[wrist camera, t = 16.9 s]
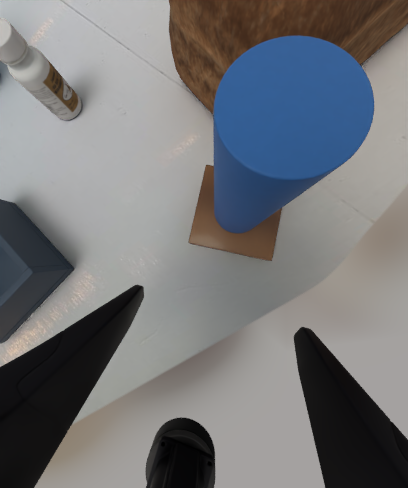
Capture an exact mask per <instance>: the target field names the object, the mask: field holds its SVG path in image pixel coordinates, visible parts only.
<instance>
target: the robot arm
mask: <svg viewBox="0 0 408 488" xmlns="http://www.w3.org/2000/svg"><path fill="white" fill-rule="evenodd" d="M143 298H144V289H143V286H140V285H135V286H133V287H131V288H130V289H128V290H127V291H125V292H123V293H122V294H120V295H119V296H117V297H116V298H114V299H112V300H111V301H109V302H108V303H106V304H104V305H103V306H101V307H100V308H98V309H96V310H95V311H93V312H92V313H90V314H89V315H87V316H85V317H84V318H82V319H81V320H79V321H77V322H76V323H74V324H73V325H71V326H69V327H68V328H66V329H65V330H64V331H61V332H60V333H58V334H57V335H55V336H54V337H52V338H50V339H49V340H47V341H45V342H44V343H42V344H40V345H39V346H37V347H35V348H34V349H32V350H30V351H28V352H27V353H25V354H23V355H21V356H20V357H18V358H16V359H14V360H12V361H10V362H9V363H7V364H5V365H3V366H1V367H0V488H34V487H35V485H36V483H37V482H38V480H39V479H40V477H41V475H42V474H43V472H44V470H45V468H46V467H47V465H48V463H49V462H50V460H51V458H52V457H53V455H54V453H55V452H56V450H57V448H58V447H59V445H60V443H61V442H62V440H63V438H64V437H65V435H66V433H67V430H69V428H70V426H71V425H72V423H73V421H74V420H75V418H76V416H77V415H78V413H79V411H80V410H81V408H82V406H83V405H84V403H85V401H86V400H87V398H88V396H89V395H90V393H91V391H92V390H93V388H94V386H95V385H96V383H97V381H98V380H99V378H100V376H101V375H102V373H103V371H104V369H105V368H106V366H107V364H108V363H109V361H110V359H111V358H112V356H113V354H114V353H115V351H116V349H117V348H118V346H119V344H120V343H121V341H122V339H123V338H124V336H125V334H126V333H127V331H128V329H129V327H130V326H131V324H132V322H133V320H134V317H135V315H136V313H137V311H138V309H139V307H140V305H141V302H142V300H143ZM294 343H295V351H296V358H297V365H298V371H299V376H300V380H301V384H302V389H303V393H304V397H305V402H306V406H307V410H308V414H309V419H310V423H311V428H312V432H313V436H314V441H315V445H316V449H317V453H318V457H319V462H320V466H321V470H322V475H323V479H324V483H325V488H408V440H407V438H406V437H405V436H404V435H403V434H402V433H401V432H400V431H399V429H398V428H397V427H396V426H395V425H394V424H393V423H392V422H391V421H390V419H389V418H388V417H387V416H386V415H385V413H384V412H383V411H382V410H381V409H380V408H379V407H378V405H377V404H376V403H375V402H374V401H373V400H372V399H371V398H370V396H369V395H368V394H367V393H366V392H365V391H364V389H362V387H361V386H360V385H359V384H358V383H357V381H356V380H355V379H354V378H353V377H352V376H351V375H350V373H349V372H348V371H347V370H346V369H345V368H344V367H343V365H342V364H341V363H340V362H339V361H338V360H337V359H336V357H335V356H334V355H333V354H332V353H331V352H330V351H329V350H328V348H327V347H326V346H325V345H324V344H323V343H322V341H321V340H320V339H319V338H318V337H317V336H316V335H315V333H314V332H313V331H312V330H311V329H309V328H305V327H301V328H300V329H299V330H298V331H297V332H296V333H295V335H294ZM213 467H214V457H213V456H212V455H211V454H209V453H206V452H204V451H201V450H199V449H197V448H194V447H192V446H189V445H187V444H185V443H182V442H180V441H177V440H175V439H172V438H170V437H168V436H165V435H164V436H162V437H161V438H160V442H159V445H158V449H157V452H156V455H155V459H154V462H153V466H152V469H151V473H150V476H149V479H148V483H147V486H146V488H208V485H209V481H210V478H211V474H212V470H213Z"/></svg>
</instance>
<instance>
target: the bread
mask: <svg viewBox="0 0 408 488" xmlns="http://www.w3.org/2000/svg"><path fill="white" fill-rule="evenodd" d="M169 3H170V21H169V33H170V41H171V49H172V54H173V58H174V62H175V67H176V70H177V72H178V74H179V76H180V78H181V79H182V80H183V82H184V83H185V84H186V85H187V86H188V88H189V89H190V90H191V91H192V92H193V93H194V94H195V95H196V97H197V98H198V99H199V100H200V101H201V102H202V103H203V104H204V105H205V106H206V107H207V108H208V109H209V111H210V112H211V113H212V114H213V115H214V100H215V96H216V92H217V89H218V86H219V84H220V82H221V80H222V78H223V76H224V74H225V73H226V71H227V70H228V68H229V67H230V66H231V65H232V64H233V62H234V61H235V60H236V59H237V58H238V57H240V56H241V55H242V54H243V53H245V52H246V51H248V50H249V49H251V48H252V47H254V46H256V45H258V44H260V43H262V42H265V41H268V40H271V39H274V38H278V37H285V36H309V37H314V38H319V39H322V40H325V41H328V42H330V43H332V44H335V45H337V46H338V47H340V48H342V49H343V50H345V51H346V52H347V53H349V54H350V55H351V56H352V57H353V58H354V59H355V60H356V61H357V62H358V63H359V64H361V63H363V62H364V61H365V60H367V59H368V58H369V57H370V56H371V55H372V54H373V53H374V52H375V51H376V50H377V49H379V48H380V47H381V46H382V45H383V44H384V43H385V42H386V41H387V40H388V39H390V38H391V37H392V36H393V35H395V34H396V33H397V32H399V31H400V30H401V29H402V28H403V27H404V26H405V25H407V24H408V0H169Z"/></svg>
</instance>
